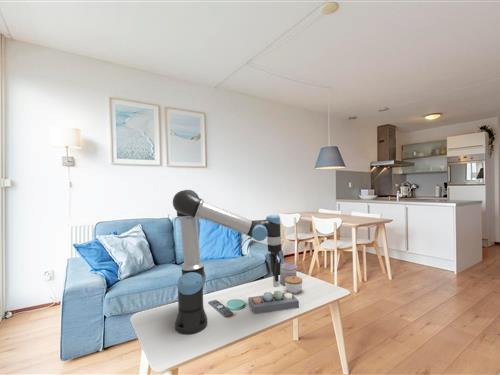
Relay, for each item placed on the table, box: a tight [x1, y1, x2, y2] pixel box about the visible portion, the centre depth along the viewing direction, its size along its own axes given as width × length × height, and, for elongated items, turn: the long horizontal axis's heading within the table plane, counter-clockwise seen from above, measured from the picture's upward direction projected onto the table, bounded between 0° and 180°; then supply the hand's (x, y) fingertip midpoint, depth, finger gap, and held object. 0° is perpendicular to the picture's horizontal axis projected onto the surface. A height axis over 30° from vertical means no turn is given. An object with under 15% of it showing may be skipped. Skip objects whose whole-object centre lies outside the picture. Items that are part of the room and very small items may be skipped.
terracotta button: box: [253, 296, 261, 304], centre depth 137 cm, size 4×4×4 cm
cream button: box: [284, 293, 292, 299], centre depth 142 cm, size 4×4×4 cm
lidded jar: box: [284, 275, 303, 295], centre depth 157 cm, size 11×11×9 cm
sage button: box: [273, 290, 283, 301], centre depth 140 cm, size 4×4×4 cm
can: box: [279, 262, 298, 287], centre depth 170 cm, size 11×11×12 cm
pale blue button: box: [263, 291, 273, 302], centre depth 139 cm, size 4×4×4 cm
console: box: [248, 291, 300, 315], centre depth 140 cm, size 25×12×4 cm, turn 104°
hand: (276, 286), depth 140 cm, fingers closed
